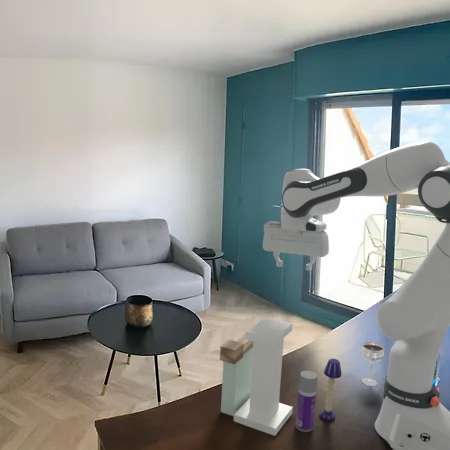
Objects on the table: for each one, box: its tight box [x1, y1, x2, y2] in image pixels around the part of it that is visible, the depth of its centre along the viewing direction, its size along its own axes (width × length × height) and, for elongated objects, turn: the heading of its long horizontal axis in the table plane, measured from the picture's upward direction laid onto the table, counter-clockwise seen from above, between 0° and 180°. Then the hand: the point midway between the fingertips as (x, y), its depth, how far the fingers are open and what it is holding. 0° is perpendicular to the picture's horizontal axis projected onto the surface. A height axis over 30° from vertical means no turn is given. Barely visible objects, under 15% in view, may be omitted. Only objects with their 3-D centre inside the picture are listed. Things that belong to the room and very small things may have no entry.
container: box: [295, 370, 319, 433], centre depth 136 cm, size 5×5×15 cm
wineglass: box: [361, 341, 385, 387], centre depth 161 cm, size 7×7×12 cm
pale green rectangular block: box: [220, 346, 253, 417], centre depth 145 cm, size 4×12×16 cm, turn 152°
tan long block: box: [219, 334, 253, 365], centre depth 145 cm, size 4×19×4 cm, turn 152°
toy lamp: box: [318, 358, 342, 422], centre depth 141 cm, size 5×5×17 cm
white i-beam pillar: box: [233, 316, 294, 436], centre depth 138 cm, size 12×12×26 cm
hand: (294, 268), depth 158 cm, fingers open, 8 cm apart
